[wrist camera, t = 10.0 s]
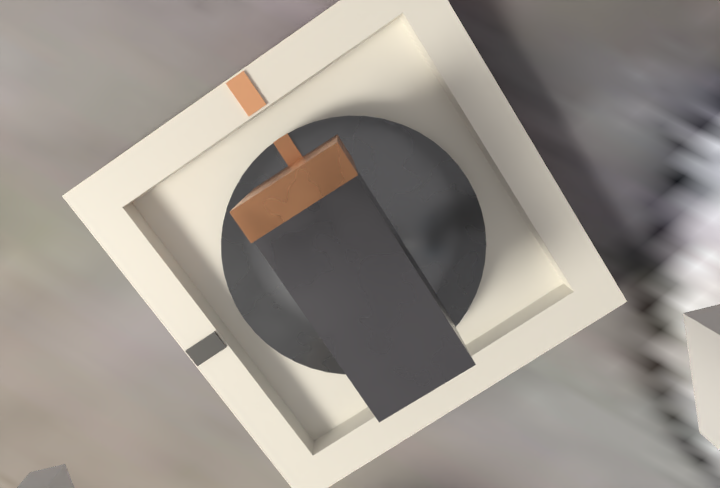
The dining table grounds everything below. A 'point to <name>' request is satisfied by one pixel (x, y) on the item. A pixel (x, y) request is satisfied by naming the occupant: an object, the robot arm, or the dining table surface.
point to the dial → (358, 255)
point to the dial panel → (298, 108)
